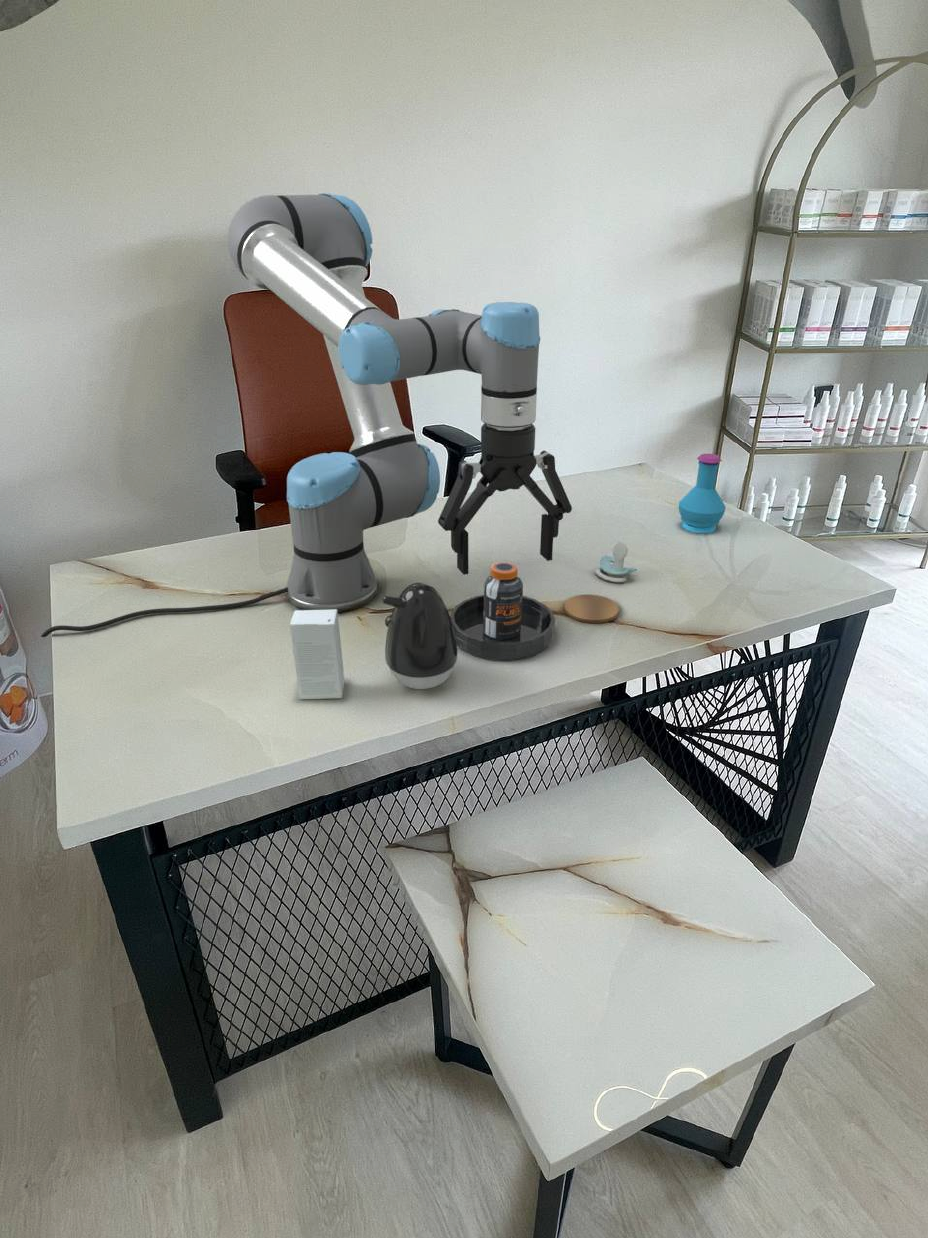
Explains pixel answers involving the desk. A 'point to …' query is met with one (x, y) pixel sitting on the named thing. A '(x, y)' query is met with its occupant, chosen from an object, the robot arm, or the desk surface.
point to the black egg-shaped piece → (420, 638)
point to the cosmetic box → (317, 653)
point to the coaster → (591, 608)
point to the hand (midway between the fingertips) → (505, 564)
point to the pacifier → (615, 564)
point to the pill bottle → (503, 602)
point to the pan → (526, 644)
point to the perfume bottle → (703, 499)
